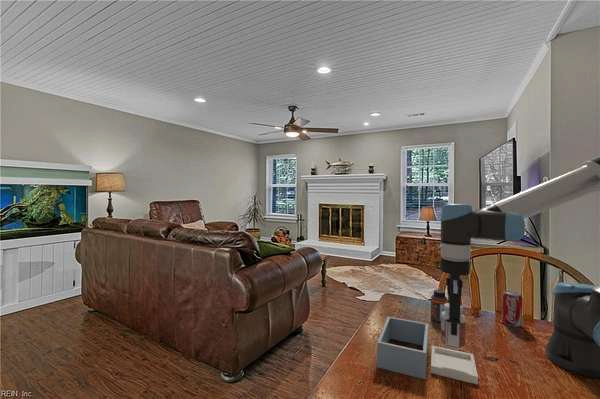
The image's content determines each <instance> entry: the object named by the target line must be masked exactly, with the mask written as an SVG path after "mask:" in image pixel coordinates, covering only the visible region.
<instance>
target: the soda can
mask: <svg viewBox="0 0 600 399" xmlns="http://www.w3.org/2000/svg"><path fill="white" fill-rule="evenodd" d="M501 297H502V298H501V299H502V300H501V322H503V324H504V325H506V326H508V327H511V326H513V327H512V328H519V327H521V326H522V325H523V306H524V305H523V301H524V300H523V296H522V295H521V293H519V292H517V291H513V290H511V291H510V290H504V291H503V294H502V296H501Z"/></svg>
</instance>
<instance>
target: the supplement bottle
mask: <svg viewBox="0 0 600 399" xmlns="http://www.w3.org/2000/svg"><path fill="white" fill-rule="evenodd" d="M446 303H448V296H446V291H445V290H442V289H434V290H433V294H432V295H431V296H430V319H431V320H432V321H434V322H437V323H441V314H442V312H443V311H445V310H444V304H446Z"/></svg>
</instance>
